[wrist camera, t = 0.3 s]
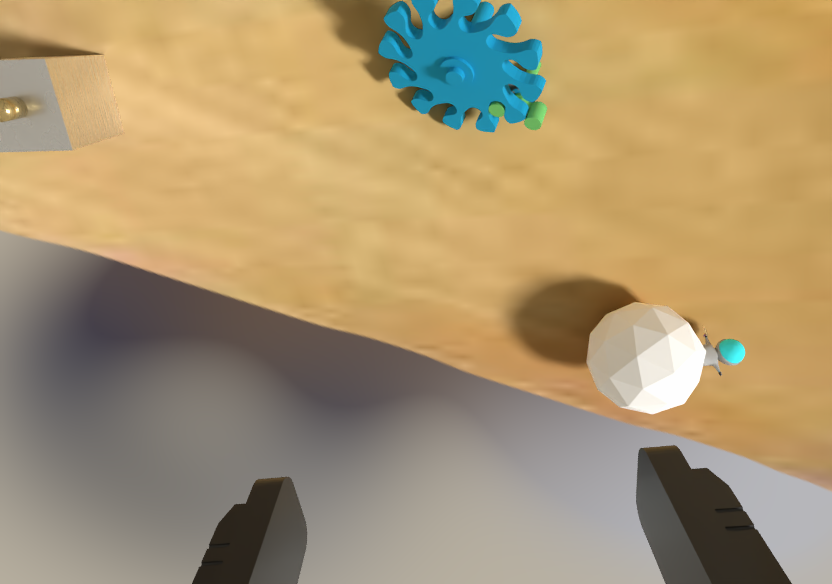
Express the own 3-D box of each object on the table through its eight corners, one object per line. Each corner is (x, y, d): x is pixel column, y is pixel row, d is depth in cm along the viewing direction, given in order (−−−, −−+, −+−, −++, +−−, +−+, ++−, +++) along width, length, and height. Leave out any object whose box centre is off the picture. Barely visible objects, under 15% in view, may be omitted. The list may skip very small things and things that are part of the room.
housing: (30, 57, 35) (-65, 63, 29) (104, 54, 35) (26, 60, 28) (55, 134, 37) (-28, 157, 31) (124, 132, 37) (56, 155, 31)
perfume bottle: (593, 287, 37) (757, 275, 38) (562, 335, 45) (700, 324, 45) (624, 396, 34) (805, 380, 34) (584, 428, 41) (734, 415, 42)
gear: (348, 68, 33) (428, -42, 25) (384, 4, 35) (470, -119, 27) (482, 168, 37) (591, 103, 29) (508, 105, 39) (617, 26, 31)
